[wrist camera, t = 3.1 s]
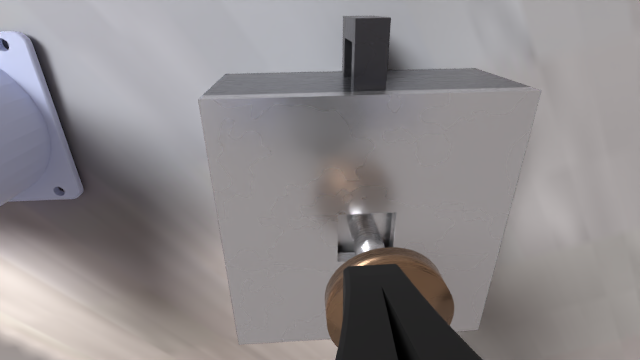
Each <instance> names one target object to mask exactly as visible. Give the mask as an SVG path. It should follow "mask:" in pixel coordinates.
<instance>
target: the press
mask: <svg viewBox="0 0 640 360" xmlns="http://www.w3.org/2000/svg"><path fill="white" fill-rule="evenodd" d="M390 23H391V18H389V17H379V16H343V66H342V71H341V72H297V73H253V74H225V75H224V76H223V77H222V78H221V79H220V80H219V81H217V82H216V83H215V84H214V85H213V86H212V87H211V88H210V89H209V90H208V91H207V92H206V93H205V94H203V95H202V96H201V97H200V98H199V99H198V103H199V109H200V115H201V121H202V127H203V133H204V139H205V145H206V151H207V157H208V163H209V169H210V175H211V181H212V187H213V193H214V199H215V205H216V211H217V217H218V223H219V229H220V235H221V241H222V247H223V253H224V259H225V265H226V271H227V277H228V283H229V289H230V295H231V301H232V307H233V313H234V319H235V325H236V330H237V336H238V342H239V345H240V344H256V343H273V342H289V341H306V340H322V339H331V337H330V335H329V333H328V329H327V320H326V310H325V300H324V298H325V290H326V286H327V284H328V282H329V280H330V278H331V277H332V275H333V274H334V273H335V271H336V270H337V269H338V268H339V267H340V266H341V265H342V264H344V263H345V262H346V261H348V260H349V259H351V258H353V257H354V256H356V255H355V252H350V253H338V215H345V214H368V213H391V212H392V220H391V231H390V242H389V247H398V248H405V249H409V250H413V251H416V252H418V253H420V254H422V255H424V256H425V257H427V258H428V259H429V260H431V261H432V262H433V263H434V264H435V266H436V267H437V269H438V270H439V272H440V274H441V276H442V278H443V280H444V281H445V283H446V285H447V287H448V289H449V291H450V293H451V295H452V297H453V301H454V316H453V319H452V322H451V324H450V327H451V328H452V329H453V330H454V331H471V330H478V329H479V325H480V321H481V317H482V314H483V310H484V306H485V302H486V299H487V295H488V291H489V287H490V283H491V280H492V276H493V272H494V268H495V265H496V261H497V257H498V253H499V250H500V246H501V242H502V238H503V234H504V231H505V227H506V223H507V219H508V216H509V212H510V208H511V204H512V200H513V197H514V193H515V189H516V185H517V182H518V178H519V174H520V170H521V166H522V163H523V159H524V155H525V151H526V148H527V144H528V140H529V136H530V132H531V129H532V125H533V121H534V117H535V114H536V110H537V106H538V102H539V98H540V95H541V91H542V90H539V89H536V88H533V87H530V86H527V85H524V84H521V83H518V82H515V81H512V80H509V79H506V78H503V77H500V76H497V75H494V74H491V73H488V72H485V71H482V70H479V69H476V68H472V69H428V70H387V65H388V51H389V37H390Z"/></svg>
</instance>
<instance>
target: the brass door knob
mask: <svg viewBox="0 0 640 360" xmlns="http://www.w3.org/2000/svg"><path fill="white" fill-rule="evenodd" d="M391 220H392V212H391V213H368V214H345V215H338V253H350V252H355V255H356V256H354V257H353V258H351V259H349V260H348V261H346V262H345V263H344V264H342V265H341V266H340V267H339V268H338V269H337V270H336V271H335V273H334V274H333V275H332V277H331V278H330V280H329V282H328V284H327V286H326V290H325V298H324V300H325V310H326V320H327V329H328V333H329V335H330V337H331V339H332V341H333V342H334V344H335V345H336V346H337V347H338V346H339V341H340V335H341V328H342V321H343V270H344V269H345V268H347V267H348V266H364V265H382V264H397V265H398V266H399V267H400V268H401V270H402V271H403V272H404V273H405V274H406V276H407V277H408V278H409V279H410V281H411V282H412V283H413V284H414V286H415V287H416V288H417V289H418V290H419V292H420V293H421V294H422V295H423V296H424V297H425V299H426V300H427V301H428V302H429V303H430V304H431V306H432V307H433V308H434V309H435V310H436V311H437V312H438V313H439V315H440V316H441V317H442V318H443V319H444V320H445V321H446V322H447V323H448V324H449V325H450V324H451V322H452V319H453V316H454V301H453V297H452V295H451V293H450V291H449V289H448V287H447V285H446V283H445V281H444V280H443V278H442V276H441V274H440V272H439V270H438V269H437V267H436V266H435V264H434V263H433V262H432V261H431V260H429V259H428V258H427V257H425V256H424V255H422V254H420V253H418V252H416V251H413V250H409V249H405V248H398V247H389V242H390V231H391Z"/></svg>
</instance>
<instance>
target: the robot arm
mask: <svg viewBox="0 0 640 360" xmlns="http://www.w3.org/2000/svg"><path fill="white" fill-rule="evenodd" d="M3 39H4V40H6V41H7V43H8V44H9V49H6V48H5V47H4V45H3V43H2V40H3ZM58 187H61V188H62V189H63V190H64V192H62V191H60V190H59V188H58ZM82 193H83V186H82V183H81V180H80V178H79V175H78V172H77V169H76V166H75V163H74V161H73V158H72V155H71V152H70V149H69V146H68V143H67V141H66V138H65V135H64V132H63V129H62V126H61V124H60V121H59V118H58V115H57V112H56V109H55V106H54V104H53V101H52V98H51V95H50V92H49V89H48V87H47V84H46V81H45V78H44V75H43V72H42V70H41V67H40V64H39V61H38V58H37V55H36V52H35V50H34V47H33V44H32V42H31V40H30V39H29V38H28V37H27V36H26V35H25V34H23V33H21V32H17V31H0V206H2V205H3V204H5V203H6V202H12V201H38V200H63V199H76V198H78V197H79V196H80V195H81V194H82ZM335 360H482V359H481V358H480V357H479V356H478V355H477V354H476V353H475V352H474V351H473V350H472V349H471V348H470V347H469V346H468V345H467V344H466V342H465V341H464V340H463V339H462V338H461V337H460V336H459V335H458V334H457V333H456V332H455V331H454V330H453V329H452V328H451V327H450V325H449V324H448V323H447V322H446V321H445V320H444V319H443V318H442V317H441V316H440V315H439V313H438V312H437V311H436V310H435V309H434V308H433V307H432V306H431V304H430V303H429V302H428V301H427V300H426V299H425V297H424V296H423V295H422V294H421V293H420V292H419V290H418V289H417V288H416V287H415V286H414V284H413V283H412V282H411V281H410V279H409V278H408V277H407V276H406V274H405V273H404V272H403V271H402V270H401V268H400V267H399V266H398V265H397V264H382V265H364V266H348V267H347V268H345V269H344V270H343V321H342V328H341V335H340V341H339V346H338V350H337V355H336V359H335Z"/></svg>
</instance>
